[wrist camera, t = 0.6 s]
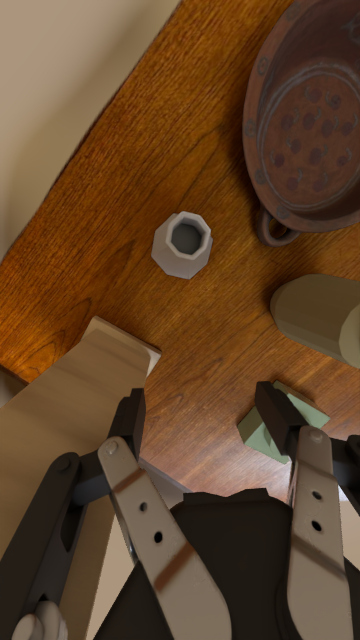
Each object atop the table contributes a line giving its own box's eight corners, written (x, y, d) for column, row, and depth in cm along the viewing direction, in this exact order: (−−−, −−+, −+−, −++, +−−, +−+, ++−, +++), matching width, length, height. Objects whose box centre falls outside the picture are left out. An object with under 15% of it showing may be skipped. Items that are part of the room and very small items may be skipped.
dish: (192, 215, 23) (198, 202, 18) (293, -35, 17) (339, -149, 13) (316, 275, 25) (350, 277, 20) (436, 71, 20) (520, 9, 15)
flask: (222, 236, 23) (258, 217, 14) (191, 289, 25) (203, 304, 15) (170, 201, 22) (169, 153, 13) (141, 258, 24) (119, 254, 14)
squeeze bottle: (264, 337, 27) (426, 465, 10) (256, 280, 25) (448, 317, 8) (321, 323, 27) (590, 429, 10) (319, 264, 25) (662, 265, 7)
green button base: (274, 445, 33) (292, 477, 28) (236, 426, 31) (248, 455, 26) (314, 402, 31) (341, 428, 26) (276, 379, 29) (297, 402, 24)
